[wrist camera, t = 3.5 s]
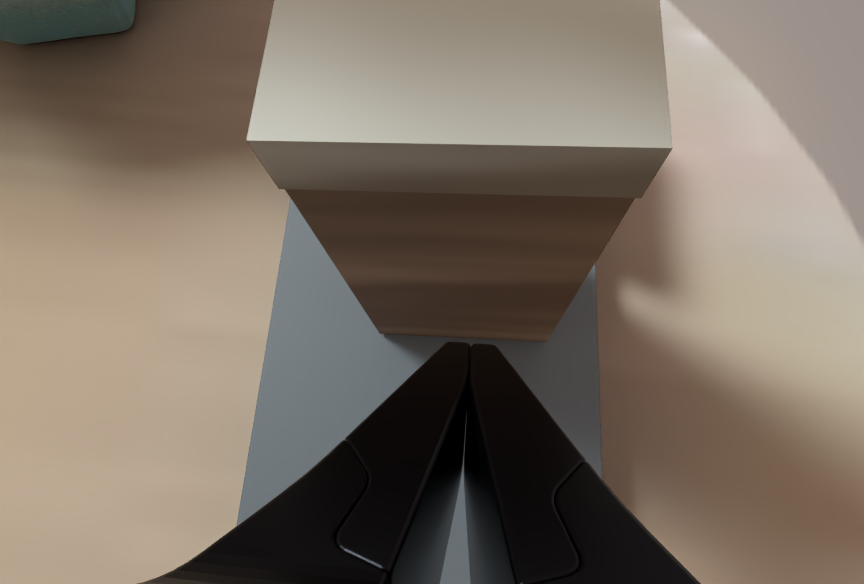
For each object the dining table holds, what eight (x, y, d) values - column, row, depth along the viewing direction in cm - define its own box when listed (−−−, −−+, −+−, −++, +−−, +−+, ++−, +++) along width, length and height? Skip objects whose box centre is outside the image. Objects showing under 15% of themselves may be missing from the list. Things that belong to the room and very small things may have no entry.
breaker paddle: (548, 343, 16) (673, 148, 6) (377, 335, 16) (245, 140, 7) (548, 247, 17) (654, -52, 7) (387, 241, 17) (284, -48, 8)
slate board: (599, 669, 14) (632, 720, 11) (232, 634, 15) (177, 672, 12) (583, 121, 19) (603, 61, 16) (314, 117, 20) (289, 60, 17)
